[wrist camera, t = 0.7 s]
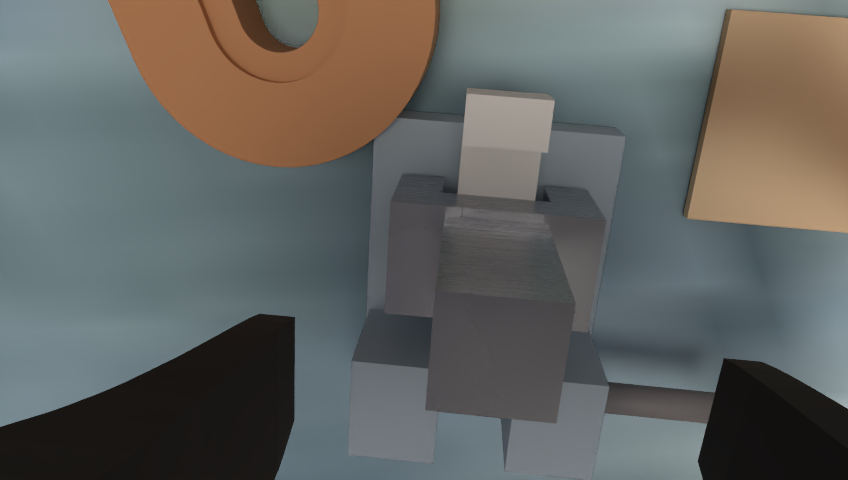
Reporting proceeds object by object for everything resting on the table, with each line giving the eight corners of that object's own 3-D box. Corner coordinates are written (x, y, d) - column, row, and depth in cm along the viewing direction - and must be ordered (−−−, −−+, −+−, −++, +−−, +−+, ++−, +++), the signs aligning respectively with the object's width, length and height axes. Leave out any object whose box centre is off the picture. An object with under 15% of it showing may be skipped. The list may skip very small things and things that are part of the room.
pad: (882, 232, 20) (890, 236, 20) (682, 214, 20) (687, 218, 20) (948, 25, 18) (958, 26, 18) (726, 9, 18) (731, 9, 18)
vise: (694, 400, 22) (749, 496, 18) (369, 368, 23) (344, 454, 18) (768, 97, 19) (858, 125, 15) (383, 67, 20) (357, 84, 15)
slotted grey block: (571, 288, 19) (625, 442, 12) (396, 272, 20) (354, 414, 13) (587, 189, 18) (655, 298, 11) (402, 174, 19) (360, 270, 12)
